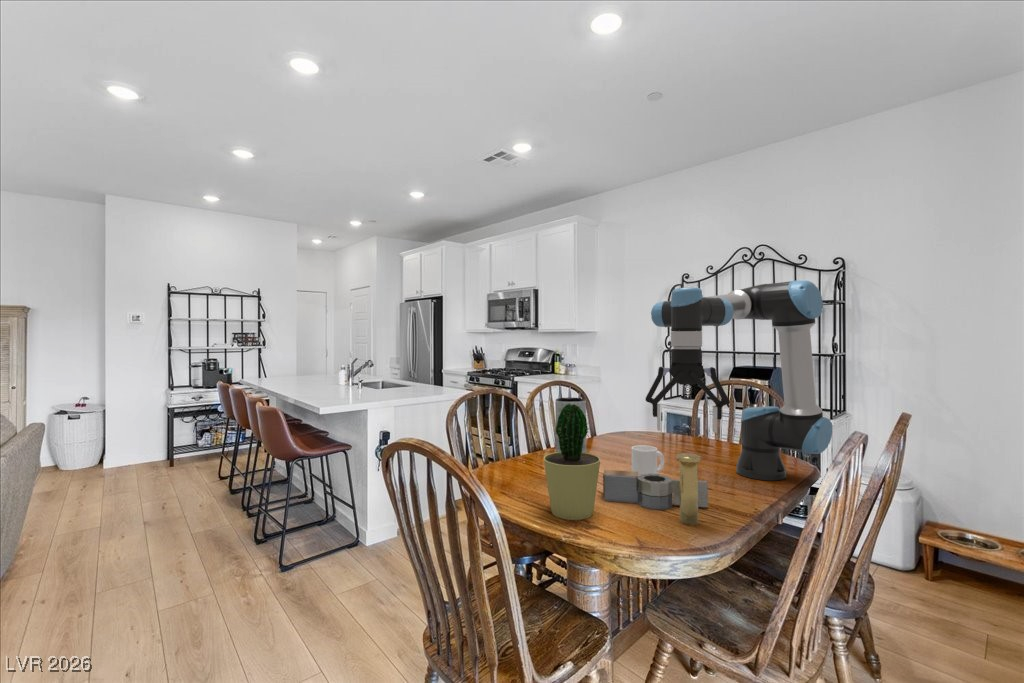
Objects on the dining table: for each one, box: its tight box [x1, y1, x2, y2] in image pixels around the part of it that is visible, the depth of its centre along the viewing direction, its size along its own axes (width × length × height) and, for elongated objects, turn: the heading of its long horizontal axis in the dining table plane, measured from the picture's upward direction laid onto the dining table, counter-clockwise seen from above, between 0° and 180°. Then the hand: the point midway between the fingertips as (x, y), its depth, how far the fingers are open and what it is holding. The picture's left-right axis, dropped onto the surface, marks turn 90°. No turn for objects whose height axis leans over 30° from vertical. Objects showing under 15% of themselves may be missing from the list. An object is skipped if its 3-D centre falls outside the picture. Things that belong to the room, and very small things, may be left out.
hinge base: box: [604, 475, 673, 511], centre depth 137 cm, size 19×9×7 cm, turn 75°
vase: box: [554, 397, 587, 453], centre depth 158 cm, size 10×10×27 cm
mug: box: [631, 444, 665, 476], centre depth 160 cm, size 12×8×10 cm
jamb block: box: [602, 469, 638, 500], centre depth 141 cm, size 10×5×7 cm, turn 75°
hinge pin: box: [675, 452, 702, 527], centre depth 122 cm, size 6×6×17 cm
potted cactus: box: [543, 403, 601, 521], centre depth 130 cm, size 15×15×30 cm
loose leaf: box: [638, 473, 709, 509], centre depth 135 cm, size 19×9×7 cm, turn 75°
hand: (686, 431), depth 123 cm, fingers open, 13 cm apart
